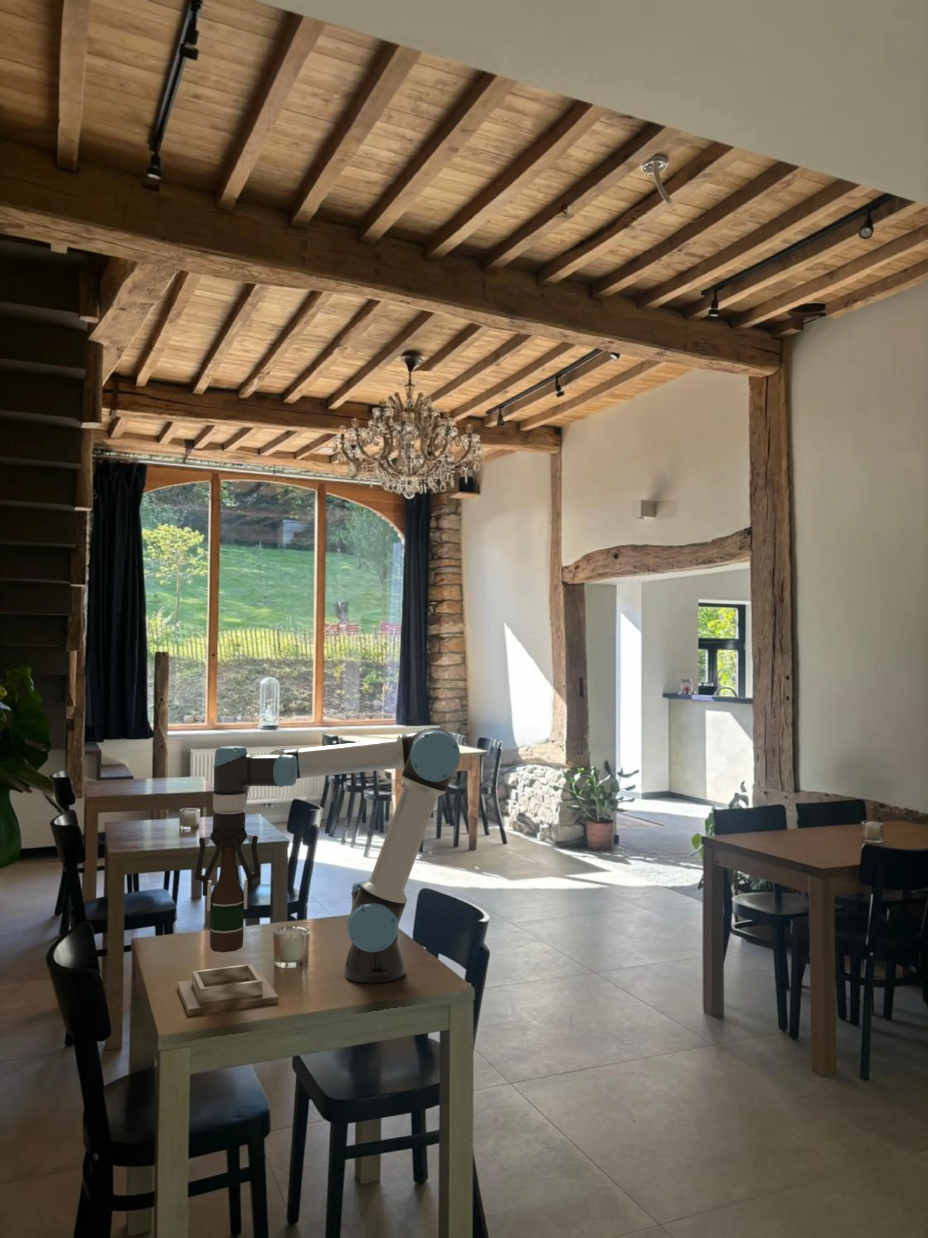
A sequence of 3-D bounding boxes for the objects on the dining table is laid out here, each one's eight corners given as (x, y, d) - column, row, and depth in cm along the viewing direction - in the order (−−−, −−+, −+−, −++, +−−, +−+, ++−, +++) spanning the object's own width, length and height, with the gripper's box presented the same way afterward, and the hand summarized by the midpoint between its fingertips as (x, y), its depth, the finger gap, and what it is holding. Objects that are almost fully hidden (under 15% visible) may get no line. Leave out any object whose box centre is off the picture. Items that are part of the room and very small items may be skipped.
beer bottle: (240, 952, 214) (242, 848, 215) (206, 953, 213) (208, 848, 215) (245, 943, 221) (247, 842, 223) (212, 943, 221) (215, 842, 222)
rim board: (260, 977, 230) (260, 959, 230) (278, 1003, 211) (278, 983, 212) (177, 988, 222) (177, 969, 222) (188, 1016, 203) (188, 995, 204)
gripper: (272, 808, 225) (271, 902, 224) (185, 810, 221) (183, 907, 219) (273, 812, 218) (271, 910, 216) (183, 815, 213) (180, 915, 212)
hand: (227, 908), depth 218 cm, fingers closed on beer bottle, 8 cm apart
